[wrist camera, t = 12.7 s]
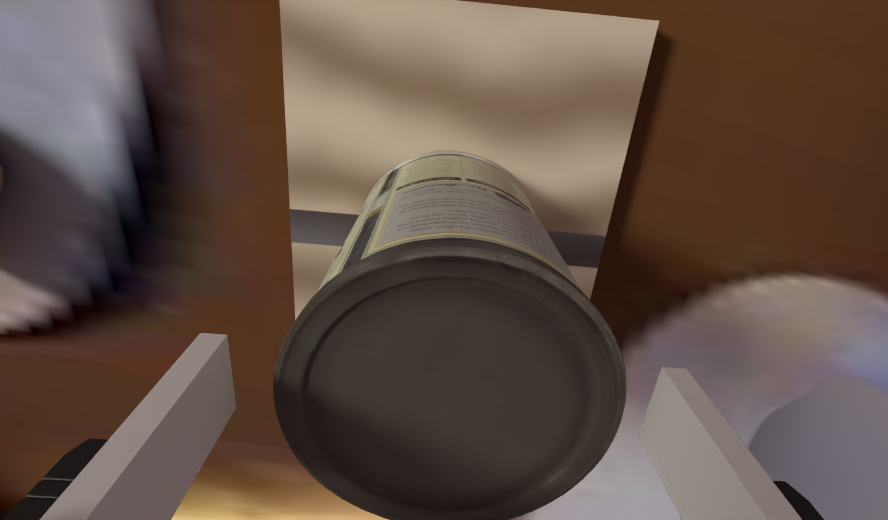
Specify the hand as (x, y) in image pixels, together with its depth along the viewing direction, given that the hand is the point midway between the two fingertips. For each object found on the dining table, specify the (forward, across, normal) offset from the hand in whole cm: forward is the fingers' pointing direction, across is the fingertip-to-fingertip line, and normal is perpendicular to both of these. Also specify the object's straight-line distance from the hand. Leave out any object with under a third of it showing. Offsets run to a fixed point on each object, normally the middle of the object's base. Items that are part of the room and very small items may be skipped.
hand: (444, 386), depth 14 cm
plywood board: (+15, 0, +2) cm, 15 cm away
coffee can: (+13, 0, 0) cm, 13 cm away
